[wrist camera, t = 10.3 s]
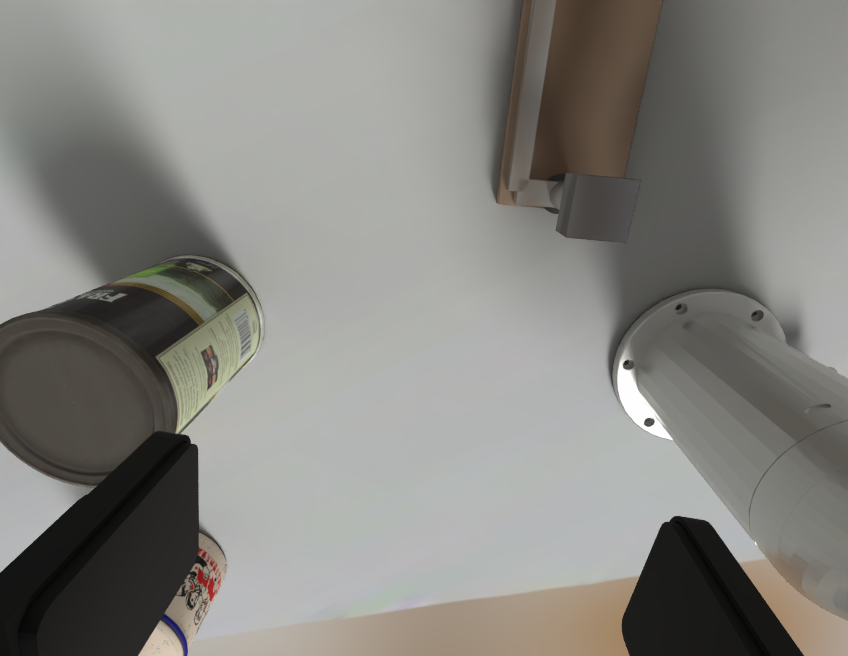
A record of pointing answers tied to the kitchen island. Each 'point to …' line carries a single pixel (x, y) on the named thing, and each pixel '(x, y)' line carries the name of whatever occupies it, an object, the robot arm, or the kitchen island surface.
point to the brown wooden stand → (577, 112)
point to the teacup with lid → (189, 603)
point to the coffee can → (122, 365)
